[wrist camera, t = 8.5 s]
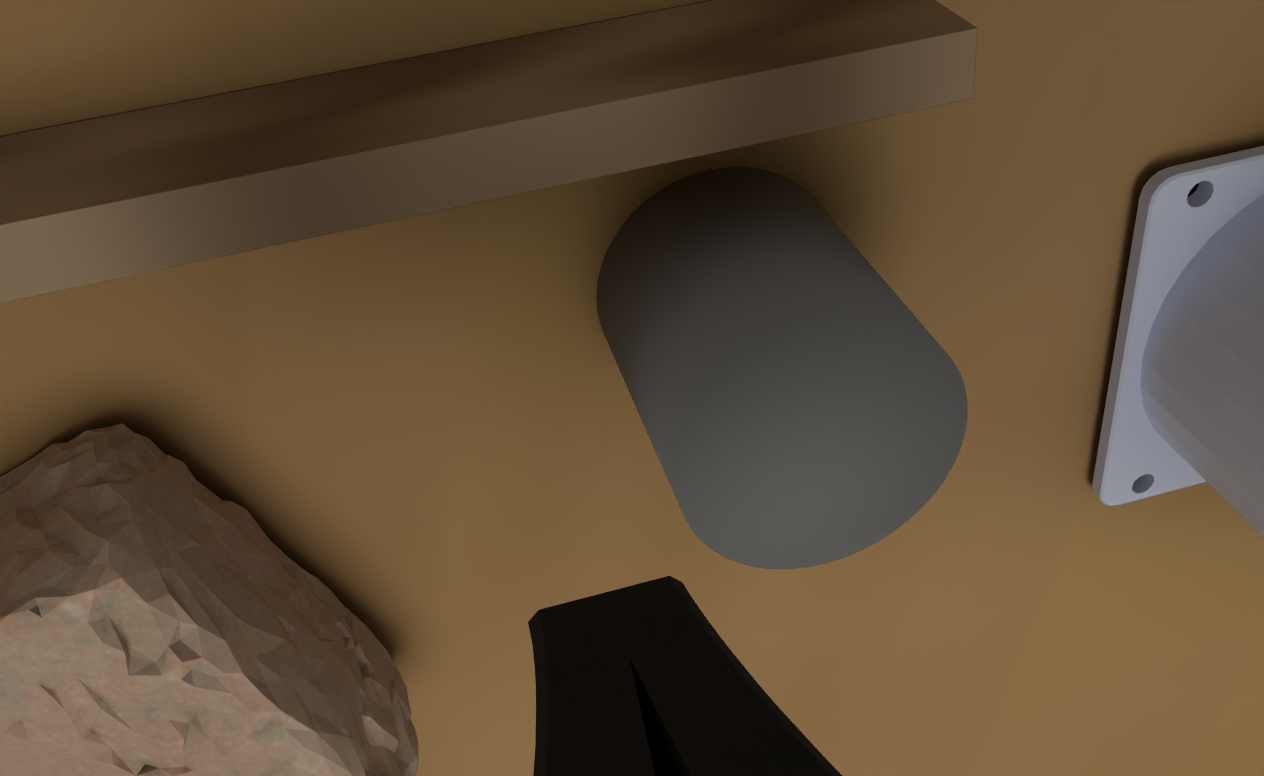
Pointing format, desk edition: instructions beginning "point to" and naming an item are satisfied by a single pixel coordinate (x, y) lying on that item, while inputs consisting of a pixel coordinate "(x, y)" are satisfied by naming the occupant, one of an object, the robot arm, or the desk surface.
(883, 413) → the grey cylinder
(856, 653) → the desk surface
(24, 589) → the brick
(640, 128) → the brown wooden frame
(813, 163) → the desk surface
